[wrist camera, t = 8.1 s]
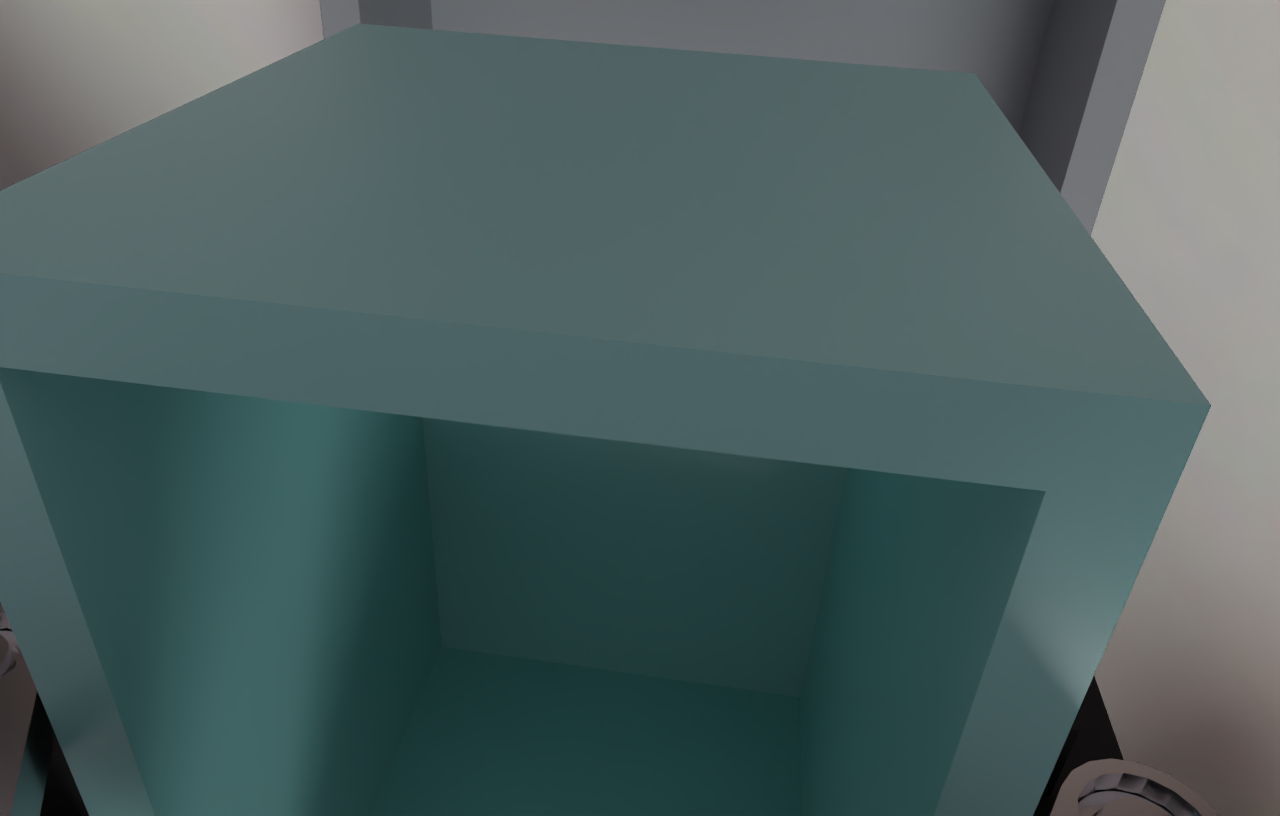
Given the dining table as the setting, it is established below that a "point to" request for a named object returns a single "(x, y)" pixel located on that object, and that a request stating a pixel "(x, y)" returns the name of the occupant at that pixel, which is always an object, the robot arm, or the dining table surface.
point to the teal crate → (570, 440)
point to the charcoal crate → (872, 52)
